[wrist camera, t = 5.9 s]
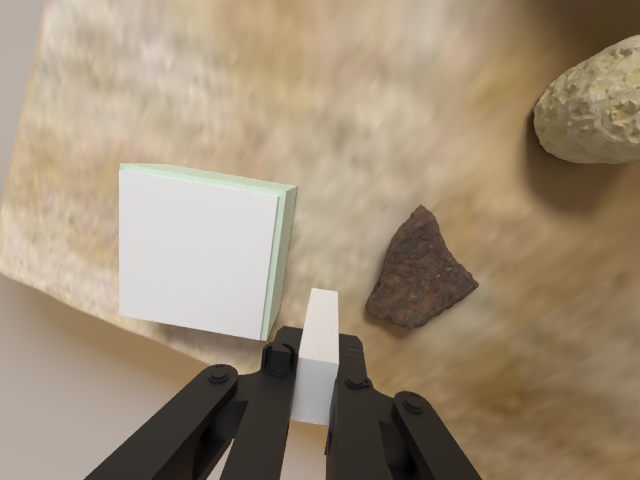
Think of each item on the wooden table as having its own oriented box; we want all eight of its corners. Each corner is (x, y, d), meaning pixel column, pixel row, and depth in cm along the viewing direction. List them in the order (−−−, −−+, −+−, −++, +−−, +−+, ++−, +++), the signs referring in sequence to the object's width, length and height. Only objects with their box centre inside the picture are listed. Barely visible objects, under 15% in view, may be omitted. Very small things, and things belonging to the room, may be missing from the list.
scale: (166, 164, 32) (113, 163, 24) (297, 186, 32) (284, 192, 24) (161, 294, 35) (113, 328, 28) (279, 314, 35) (263, 355, 28)
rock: (417, 202, 31) (428, 207, 27) (474, 276, 33) (491, 290, 29) (333, 266, 33) (333, 279, 30) (390, 332, 35) (396, 352, 31)
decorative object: (565, 168, 33) (716, 153, 24) (519, 174, 27) (692, 157, 19) (567, 76, 31) (729, 27, 23) (519, 64, 26) (706, -7, 18)
